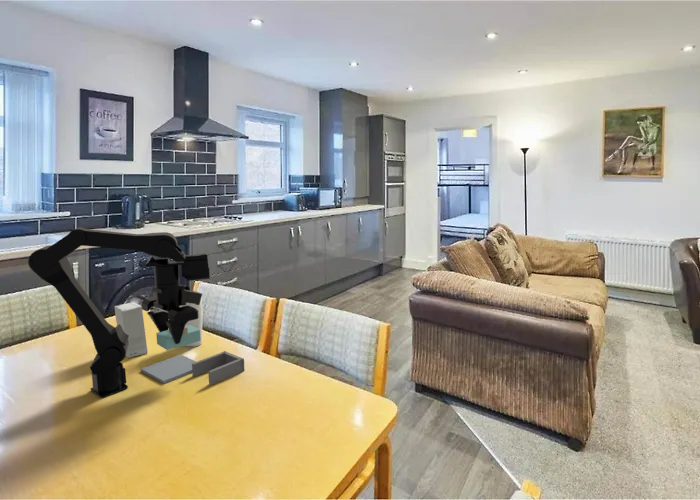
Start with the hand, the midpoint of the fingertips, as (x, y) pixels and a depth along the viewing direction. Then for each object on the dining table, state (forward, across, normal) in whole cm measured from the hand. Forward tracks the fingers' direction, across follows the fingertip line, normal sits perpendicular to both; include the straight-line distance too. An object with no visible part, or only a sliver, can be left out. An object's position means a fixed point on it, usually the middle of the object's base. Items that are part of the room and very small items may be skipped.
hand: (171, 340), depth 111 cm
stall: (+11, -6, -9) cm, 15 cm away
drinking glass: (+11, +19, -16) cm, 27 cm away
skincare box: (+11, +27, -1) cm, 29 cm away
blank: (+1, 0, -2) cm, 2 cm away
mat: (+11, +6, -3) cm, 13 cm away
